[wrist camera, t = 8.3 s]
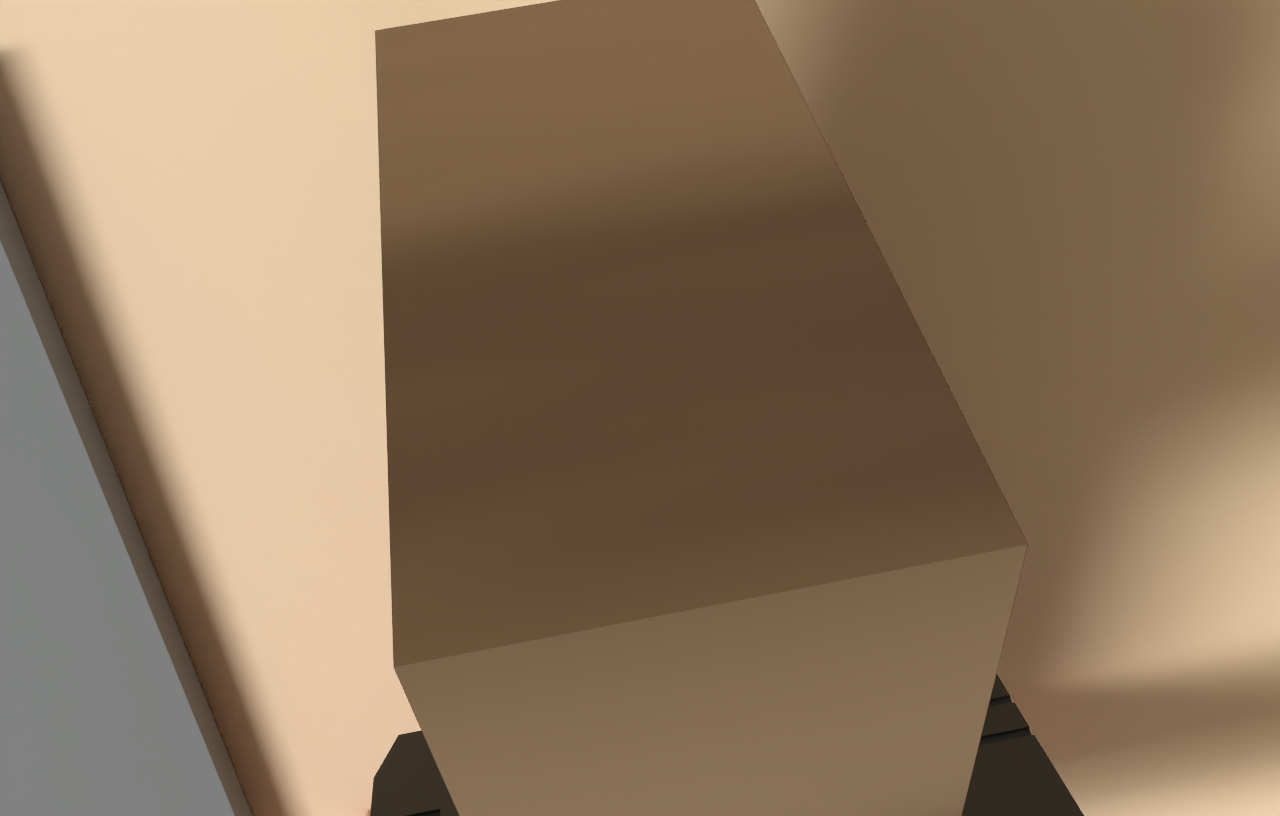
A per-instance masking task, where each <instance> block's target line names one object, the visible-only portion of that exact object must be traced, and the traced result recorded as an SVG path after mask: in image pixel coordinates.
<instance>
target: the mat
mask: <svg viewBox="0 0 1280 816" xmlns="http://www.w3.org/2000/svg"><path fill="white" fill-rule="evenodd" d="M0 816H253V815H252V813H251V810H250V808H249V805H248V803H247V800H246V797H245V795H244V792H243V790H242V787H241V785H240V782H239V780H238V777H237V775H236V772H235V770H234V767H233V765H232V762H231V760H230V757H229V755H228V752H227V750H226V747H225V745H224V742H223V740H222V737H221V735H220V732H219V730H218V727H217V724H216V722H215V719H214V717H213V714H212V712H211V709H210V707H209V704H208V702H207V699H206V697H205V694H204V692H203V689H202V687H201V684H200V682H199V679H198V677H197V674H196V672H195V669H194V667H193V664H192V662H191V659H190V657H189V654H188V652H187V649H186V646H185V644H184V641H183V639H182V636H181V634H180V631H179V629H178V626H177V624H176V621H175V619H174V616H173V614H172V611H171V609H170V606H169V604H168V601H167V599H166V596H165V594H164V591H163V589H162V586H161V584H160V581H159V579H158V576H157V573H156V571H155V568H154V566H153V563H152V561H151V558H150V556H149V553H148V551H147V548H146V546H145V543H144V541H143V538H142V536H141V533H140V531H139V528H138V526H137V523H136V521H135V518H134V516H133V513H132V511H131V508H130V506H129V503H128V501H127V498H126V495H125V493H124V490H123V488H122V485H121V483H120V480H119V478H118V475H117V473H116V470H115V468H114V465H113V463H112V460H111V458H110V455H109V453H108V450H107V448H106V445H105V443H104V440H103V438H102V435H101V433H100V430H99V428H98V425H97V423H96V420H95V417H94V415H93V412H92V410H91V407H90V405H89V402H88V400H87V397H86V395H85V392H84V390H83V387H82V385H81V382H80V380H79V377H78V375H77V372H76V370H75V367H74V365H73V362H72V360H71V357H70V355H69V352H68V350H67V347H66V344H65V342H64V339H63V337H62V334H61V332H60V329H59V327H58V324H57V322H56V319H55V317H54V314H53V312H52V309H51V307H50V304H49V302H48V299H47V297H46V294H45V292H44V289H43V287H42V284H41V282H40V279H39V277H38V274H37V272H36V269H35V266H34V264H33V261H32V259H31V256H30V254H29V251H28V249H27V246H26V244H25V241H24V239H23V236H22V234H21V231H20V229H19V226H18V224H17V221H16V219H15V216H14V214H13V211H12V209H11V206H10V204H9V201H8V199H7V196H6V193H5V191H4V188H3V186H2V183H1V181H0Z"/></svg>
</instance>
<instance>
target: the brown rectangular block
mask: <svg viewBox="0 0 1280 816" xmlns="http://www.w3.org/2000/svg"><path fill="white" fill-rule="evenodd" d="M375 41H376V75H377V109H378V144H379V178H380V212H381V247H382V281H383V316H384V350H385V384H386V419H387V453H388V488H389V522H390V556H391V591H392V625H393V659H394V669H395V671H396V674H397V676H398V678H399V680H400V683H401V685H402V687H403V689H404V692H405V694H406V696H407V698H408V701H409V703H410V705H411V707H412V710H413V712H414V714H415V716H416V719H417V721H418V723H419V726H420V728H421V730H422V732H423V735H424V737H425V739H426V741H427V744H428V746H429V748H430V750H431V753H432V755H433V757H434V759H435V762H436V764H437V766H438V768H439V771H440V773H441V775H442V777H443V780H444V782H445V784H446V787H447V789H448V791H449V793H450V796H451V798H452V800H453V802H454V805H455V807H456V809H457V811H458V814H459V816H962V812H963V807H964V803H965V799H966V795H967V791H968V787H969V783H970V779H971V775H972V771H973V767H974V763H975V758H976V754H977V750H978V746H979V742H980V738H981V734H982V730H983V726H984V722H985V718H986V714H987V709H988V705H989V701H990V697H991V693H992V689H993V685H994V681H995V677H996V673H997V669H998V665H999V660H1000V656H1001V652H1002V648H1003V644H1004V640H1005V636H1006V632H1007V628H1008V624H1009V620H1010V616H1011V611H1012V607H1013V603H1014V599H1015V595H1016V591H1017V587H1018V583H1019V579H1020V575H1021V571H1022V567H1023V562H1024V558H1025V554H1026V550H1027V546H1028V544H1027V542H1026V540H1025V538H1024V536H1023V534H1022V532H1021V530H1020V528H1019V526H1018V524H1017V522H1016V520H1015V518H1014V516H1013V514H1012V512H1011V510H1010V508H1009V506H1008V504H1007V502H1006V500H1005V498H1004V496H1003V494H1002V492H1001V490H1000V488H999V486H998V484H997V482H996V480H995V478H994V476H993V474H992V472H991V470H990V468H989V466H988V464H987V462H986V460H985V458H984V456H983V454H982V452H981V450H980V448H979V446H978V444H977V442H976V440H975V438H974V436H973V434H972V432H971V430H970V428H969V426H968V424H967V422H966V420H965V418H964V416H963V414H962V412H961V410H960V408H959V406H958V404H957V402H956V400H955V398H954V396H953V394H952V392H951V390H950V388H949V386H948V384H947V382H946V380H945V378H944V376H943V374H942V372H941V370H940V368H939V366H938V364H937V362H936V360H935V358H934V357H933V355H932V353H931V351H930V349H929V347H928V345H927V343H926V341H925V339H924V337H923V335H922V333H921V331H920V329H919V327H918V325H917V323H916V321H915V319H914V317H913V315H912V313H911V311H910V309H909V307H908V305H907V303H906V301H905V299H904V297H903V295H902V293H901V291H900V289H899V287H898V285H897V283H896V281H895V279H894V277H893V275H892V273H891V271H890V269H889V267H888V265H887V263H886V261H885V259H884V257H883V255H882V253H881V251H880V249H879V247H878V245H877V243H876V241H875V239H874V237H873V235H872V233H871V231H870V229H869V227H868V225H867V223H866V221H865V219H864V217H863V215H862V213H861V211H860V209H859V207H858V205H857V203H856V201H855V199H854V197H853V195H852V193H851V191H850V189H849V187H848V185H847V183H846V181H845V179H844V177H843V175H842V173H841V171H840V169H839V167H838V165H837V163H836V161H835V159H834V157H833V155H832V153H831V151H830V149H829V147H828V145H827V143H826V141H825V139H824V137H823V135H822V133H821V131H820V129H819V127H818V125H817V123H816V121H815V119H814V118H813V116H812V114H811V112H810V110H809V108H808V106H807V104H806V102H805V100H804V98H803V96H802V94H801V92H800V90H799V88H798V86H797V84H796V82H795V80H794V78H793V76H792V74H791V72H790V70H789V68H788V66H787V64H786V62H785V60H784V58H783V56H782V54H781V52H780V50H779V48H778V46H777V44H776V42H775V40H774V38H773V36H772V34H771V32H770V30H769V28H768V26H767V24H766V22H765V20H764V18H763V16H762V14H761V12H760V10H759V8H758V6H757V4H756V2H755V0H559V1H553V2H547V3H541V4H535V5H529V6H522V7H516V8H510V9H504V10H498V11H492V12H486V13H480V14H474V15H468V16H461V17H455V18H449V19H443V20H437V21H431V22H425V23H419V24H413V25H407V26H401V27H394V28H388V29H382V30H376V31H375Z"/></svg>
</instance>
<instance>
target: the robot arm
mask: <svg viewBox="0 0 1280 816" xmlns="http://www.w3.org/2000/svg"><path fill="white" fill-rule="evenodd" d="M370 816H459V814H458V811H457V809H456V807H455V805H454V802H453V800H452V798H451V796H450V793H449V791H448V789H447V787H446V784H445V782H444V780H443V777H442V775H441V773H440V771H439V768H438V766H437V764H436V762H435V759H434V757H433V755H432V753H431V750H430V748H429V746H428V744H427V741H426V739H425V737H424V735H423V732H422V731H417V732H412V733H407V734H402V735H398V737H397V739H396V741H395V742H394V744H393V746H392V748H391V749H390V751H389V753H388V754H387V756H386V758H385V760H384V761H383V763H382V765H381V767H380V768H379V770H378V772H377V773H376V775H375V777H374V782H373V793H372V804H371V815H370ZM962 816H1084V815H1083V813H1082V812H1081V810H1080V809H1079V807H1078V805H1077V804H1076V802H1075V800H1074V799H1073V797H1072V796H1071V794H1070V792H1069V791H1068V789H1067V787H1066V786H1065V784H1064V783H1063V781H1062V779H1061V778H1060V776H1059V774H1058V773H1057V771H1056V770H1055V768H1054V766H1053V765H1052V763H1051V761H1050V760H1049V758H1048V757H1047V755H1046V753H1045V752H1044V750H1043V748H1042V747H1041V745H1040V744H1039V742H1038V740H1037V739H1036V737H1035V735H1031V733H1030V730H1029V726H1028V724H1027V722H1026V721H1025V719H1024V718H1023V716H1022V714H1021V713H1020V711H1019V709H1018V708H1017V706H1016V705H1015V703H1012V702H1011V700H1010V695H1009V693H1008V692H1007V690H1006V688H1005V687H1004V685H1003V683H1002V682H1001V680H1000V679H999V677H998V675H997V674H996V677H995V681H994V685H993V689H992V693H991V697H990V701H989V705H988V709H987V714H986V718H985V722H984V726H983V730H982V734H981V738H980V742H979V746H978V750H977V754H976V758H975V763H974V767H973V771H972V775H971V779H970V783H969V787H968V791H967V795H966V799H965V803H964V807H963V812H962Z"/></svg>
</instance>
